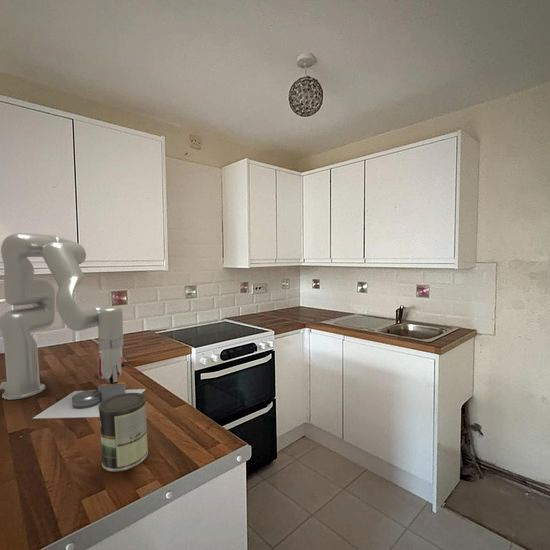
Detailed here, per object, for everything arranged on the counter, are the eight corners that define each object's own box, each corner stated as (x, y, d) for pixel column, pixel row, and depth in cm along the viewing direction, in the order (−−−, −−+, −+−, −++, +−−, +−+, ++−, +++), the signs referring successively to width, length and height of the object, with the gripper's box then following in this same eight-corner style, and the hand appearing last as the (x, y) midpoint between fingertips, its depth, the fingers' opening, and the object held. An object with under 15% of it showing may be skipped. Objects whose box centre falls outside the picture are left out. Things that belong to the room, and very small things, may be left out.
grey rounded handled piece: (67, 409, 100) (66, 393, 100) (78, 397, 109) (77, 382, 109) (121, 403, 103) (120, 387, 103) (128, 392, 112) (127, 377, 112)
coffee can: (93, 474, 72) (89, 413, 71) (112, 447, 82) (109, 393, 81) (140, 470, 72) (137, 409, 72) (153, 444, 83) (151, 391, 82)
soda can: (109, 383, 126) (107, 353, 126) (94, 382, 128) (92, 352, 127) (121, 376, 133) (119, 348, 133) (106, 375, 135) (105, 347, 134)
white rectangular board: (32, 423, 95) (32, 417, 95) (74, 395, 115) (74, 390, 115) (118, 421, 95) (117, 415, 95) (145, 393, 115) (145, 388, 115)
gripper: (95, 340, 113) (97, 390, 114) (102, 349, 101) (104, 405, 102) (118, 336, 117) (119, 385, 118) (128, 345, 106) (129, 399, 107)
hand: (112, 394), depth 110 cm, fingers closed
